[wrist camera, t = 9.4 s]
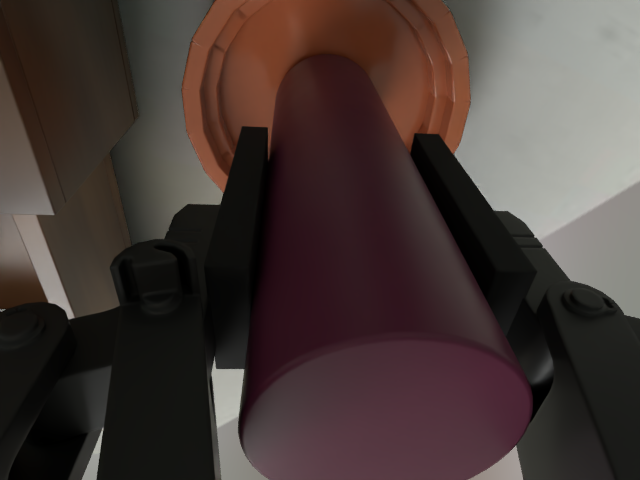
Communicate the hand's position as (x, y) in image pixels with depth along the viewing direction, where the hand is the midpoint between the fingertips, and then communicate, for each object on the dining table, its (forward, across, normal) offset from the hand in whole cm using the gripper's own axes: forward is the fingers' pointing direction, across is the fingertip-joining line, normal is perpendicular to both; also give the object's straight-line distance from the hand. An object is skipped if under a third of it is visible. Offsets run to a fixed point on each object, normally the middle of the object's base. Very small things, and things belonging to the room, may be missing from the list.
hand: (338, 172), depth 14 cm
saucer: (+7, 0, 0) cm, 7 cm away
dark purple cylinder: (+6, 0, 0) cm, 6 cm away
